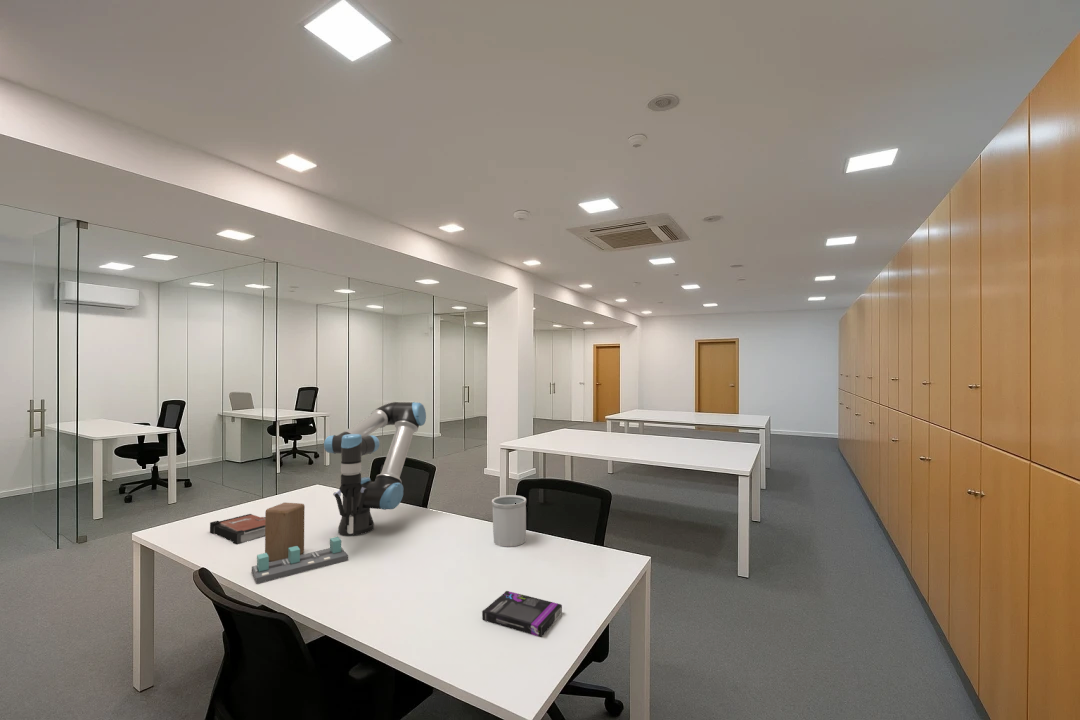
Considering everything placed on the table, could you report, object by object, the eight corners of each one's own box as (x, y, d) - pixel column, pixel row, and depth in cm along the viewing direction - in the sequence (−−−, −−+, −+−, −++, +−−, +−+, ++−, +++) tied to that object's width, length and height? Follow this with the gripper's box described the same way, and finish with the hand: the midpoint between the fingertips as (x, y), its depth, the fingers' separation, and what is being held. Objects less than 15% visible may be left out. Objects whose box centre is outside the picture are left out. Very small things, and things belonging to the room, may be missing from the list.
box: (562, 616, 134) (506, 599, 142) (562, 604, 134) (506, 588, 143) (541, 640, 121) (481, 621, 130) (541, 627, 121) (481, 608, 130)
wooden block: (286, 564, 169) (286, 510, 169) (263, 561, 171) (264, 509, 171) (305, 553, 179) (305, 502, 179) (283, 551, 181) (284, 501, 181)
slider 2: (297, 557, 169) (297, 545, 169) (299, 561, 166) (300, 549, 166) (288, 560, 167) (288, 547, 167) (290, 563, 164) (290, 551, 164)
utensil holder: (485, 544, 187) (485, 502, 187) (501, 532, 201) (501, 493, 201) (517, 549, 181) (517, 506, 182) (532, 537, 195) (531, 496, 195)
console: (339, 550, 181) (339, 544, 181) (348, 560, 172) (348, 553, 172) (251, 572, 162) (251, 564, 162) (256, 584, 153) (256, 576, 153)
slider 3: (337, 548, 178) (337, 536, 178) (341, 551, 175) (341, 539, 175) (329, 550, 176) (329, 538, 176) (333, 553, 173) (333, 541, 173)
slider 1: (266, 565, 163) (266, 552, 163) (268, 569, 159) (268, 556, 159) (256, 567, 161) (257, 554, 161) (258, 571, 157) (258, 558, 157)
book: (279, 533, 203) (279, 522, 203) (236, 545, 188) (237, 533, 188) (251, 522, 217) (251, 512, 217) (209, 533, 203) (210, 522, 203)
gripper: (364, 469, 187) (363, 526, 186) (331, 473, 179) (330, 533, 178) (370, 472, 181) (369, 531, 180) (336, 477, 173) (335, 539, 172)
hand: (350, 532), depth 179 cm, fingers closed
